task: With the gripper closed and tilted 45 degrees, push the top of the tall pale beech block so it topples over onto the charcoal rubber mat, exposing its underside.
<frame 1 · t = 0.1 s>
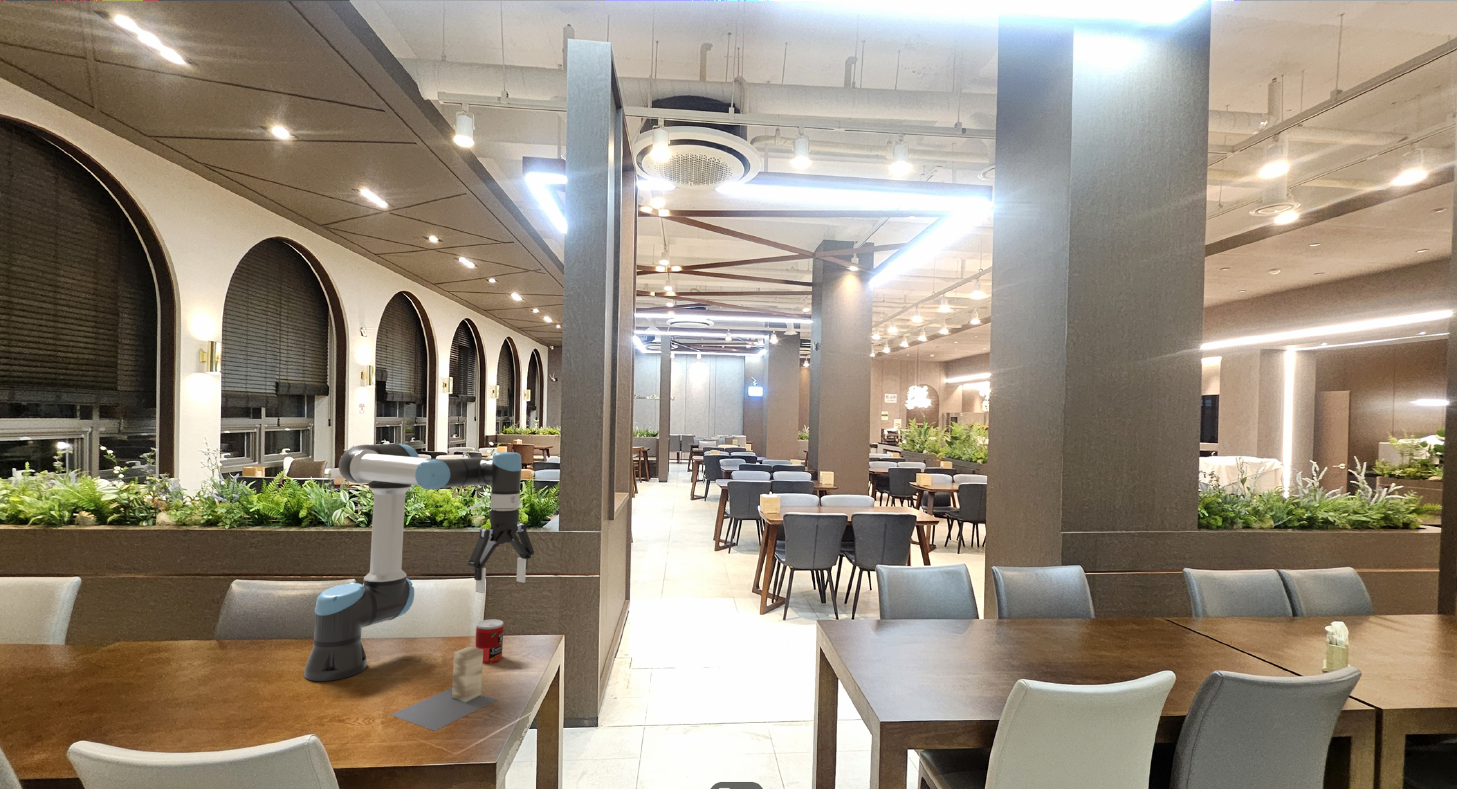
hand: (501, 586, 170), 28 cm above the table, tool pointing down, fingers open, 13 cm apart
canned food: (488, 660, 190), on the table
mat: (445, 708, 157), on the table
beech block: (466, 697, 163), resting on mat
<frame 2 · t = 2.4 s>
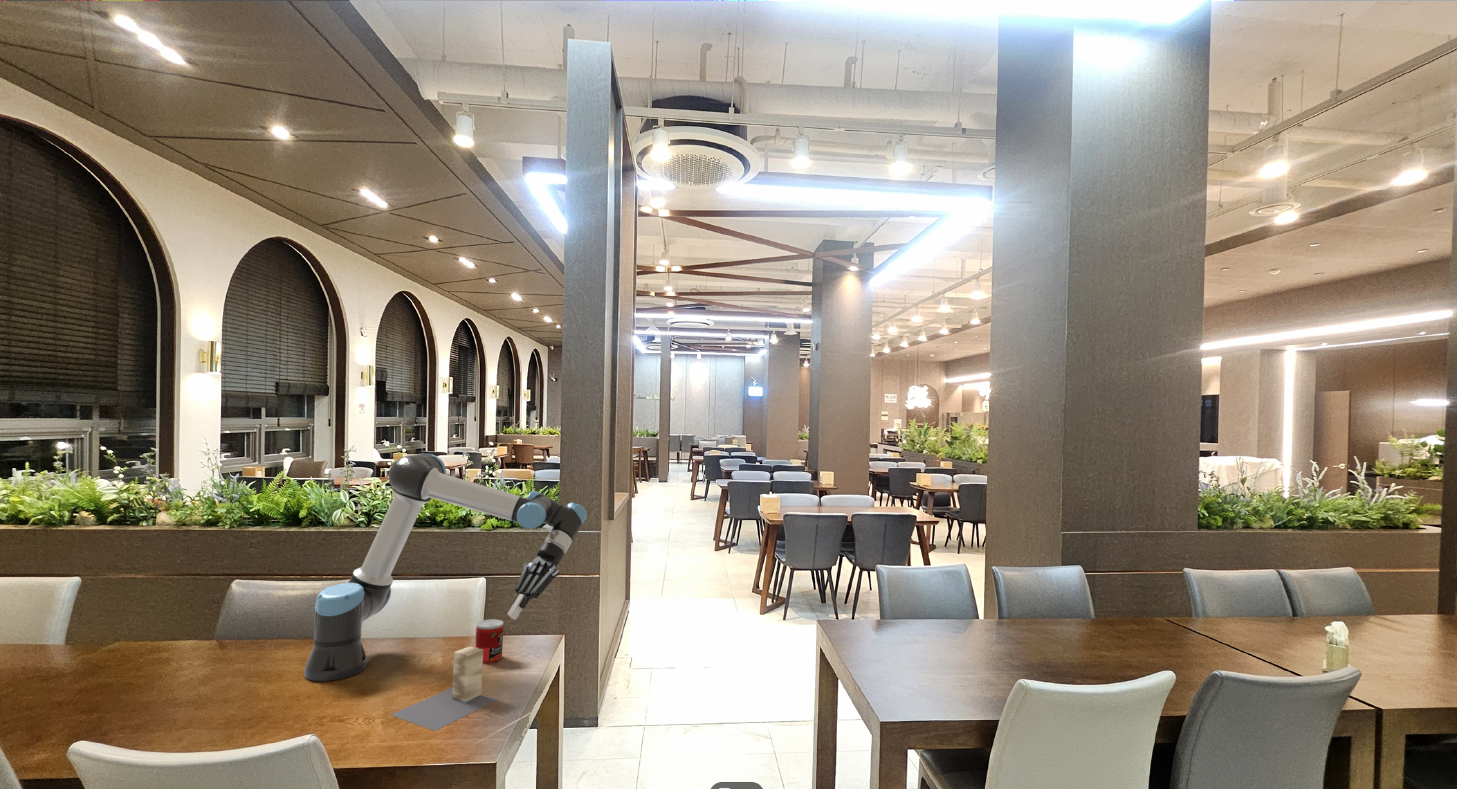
hand: (511, 616, 177), 17 cm above the table, tool tilted 45°, fingers closed
nothing on the table moved.
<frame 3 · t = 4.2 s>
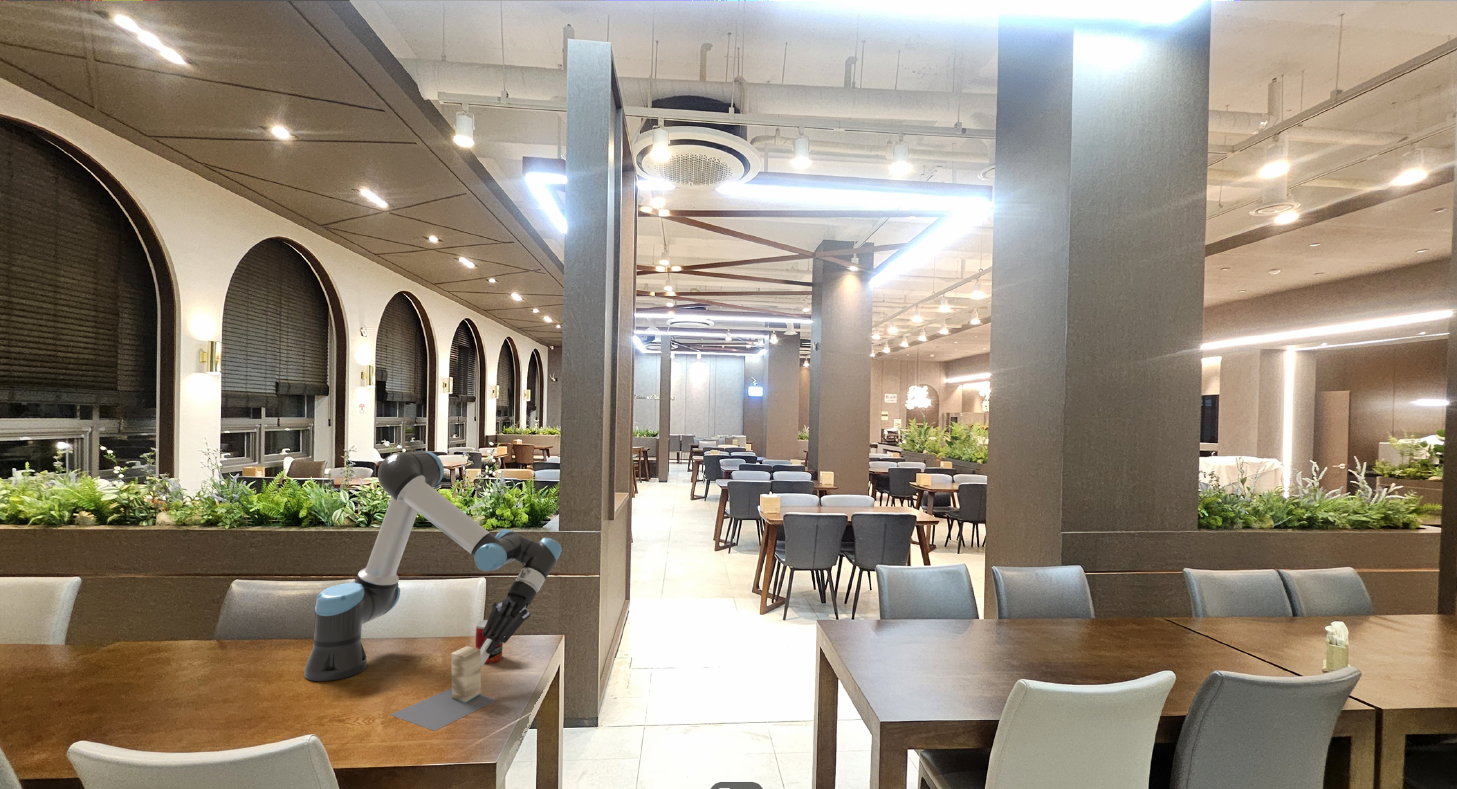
hand: (477, 663, 166), 8 cm above the table, tool tilted 45°, fingers closed
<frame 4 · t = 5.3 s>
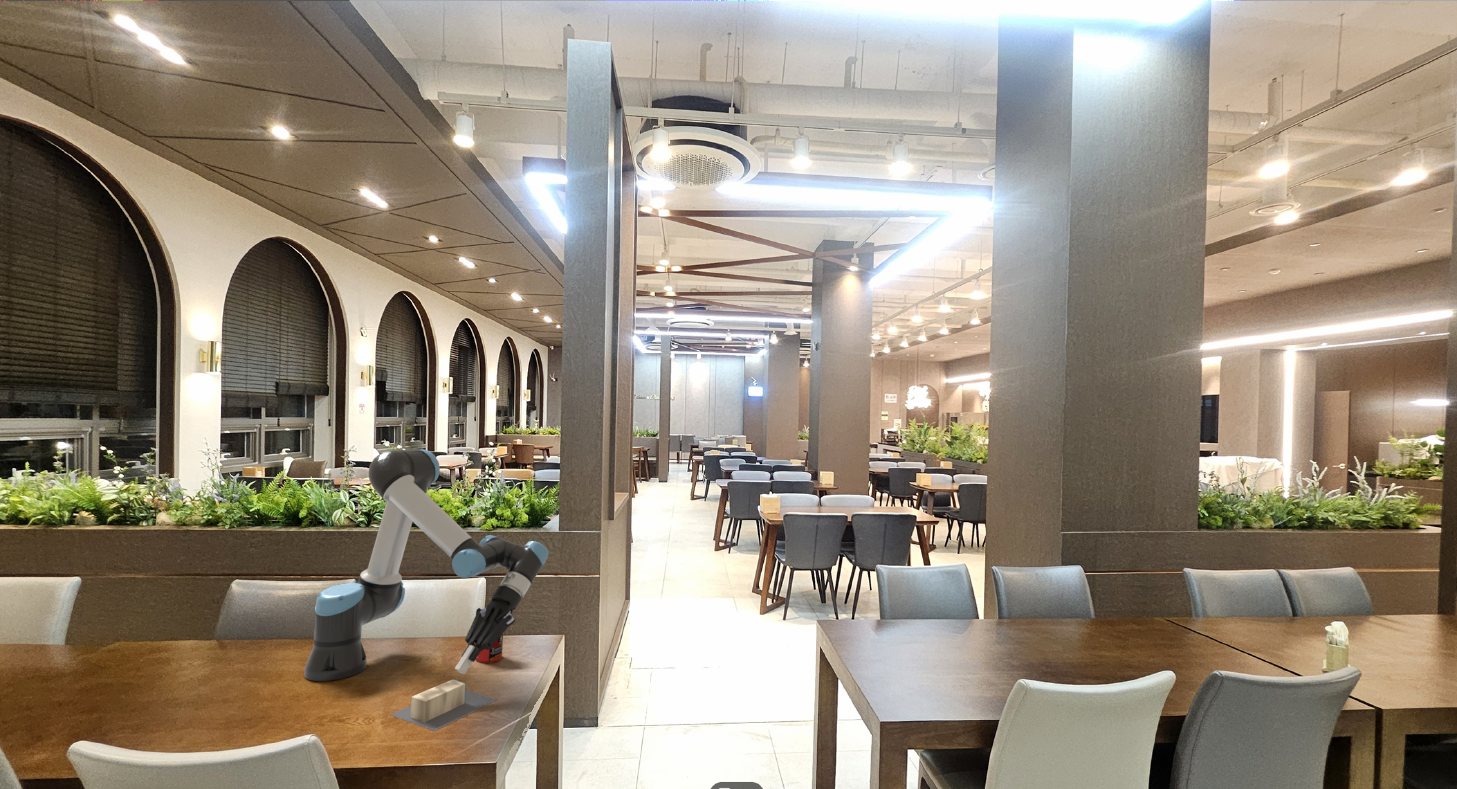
hand: (459, 671, 161), 8 cm above the table, tool tilted 45°, fingers closed
beech block: (459, 690, 161), point 3 cm above the table, tilted 90°, touching mat
everything else where it was.
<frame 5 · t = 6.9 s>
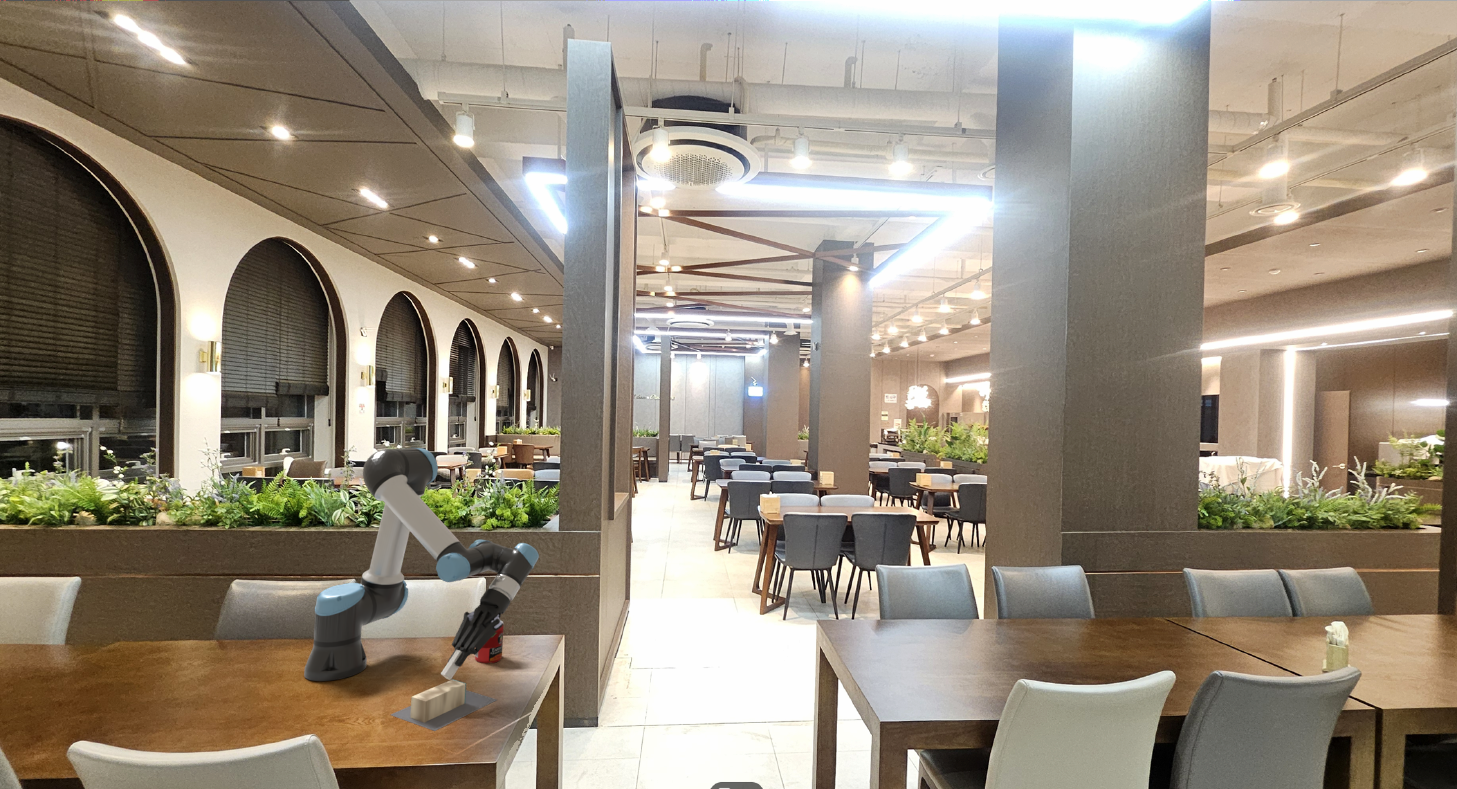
hand: (445, 676, 157), 8 cm above the table, tool tilted 45°, fingers closed
nothing on the table moved.
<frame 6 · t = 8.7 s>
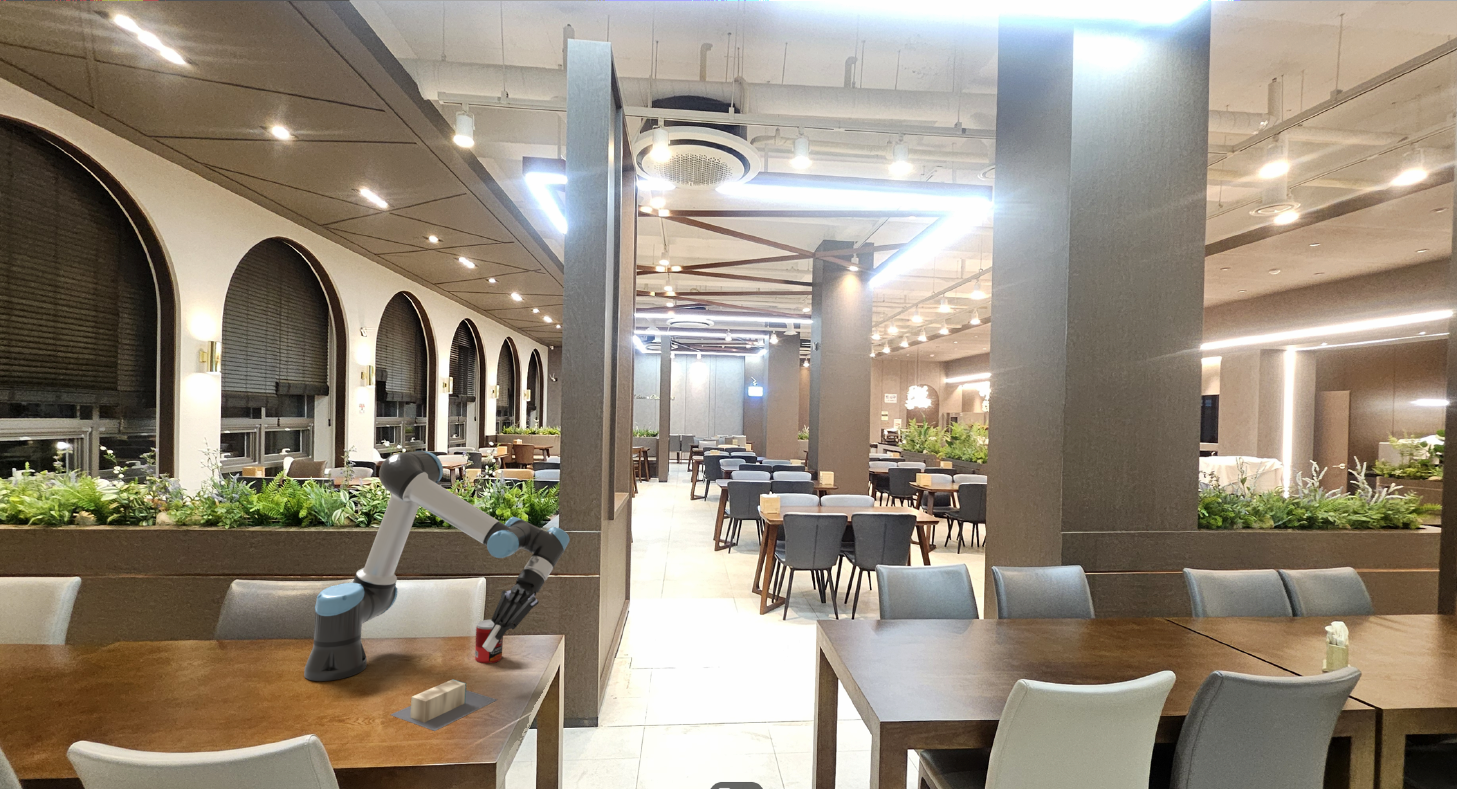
hand: (486, 649, 169), 11 cm above the table, tool tilted 45°, fingers closed
nothing on the table moved.
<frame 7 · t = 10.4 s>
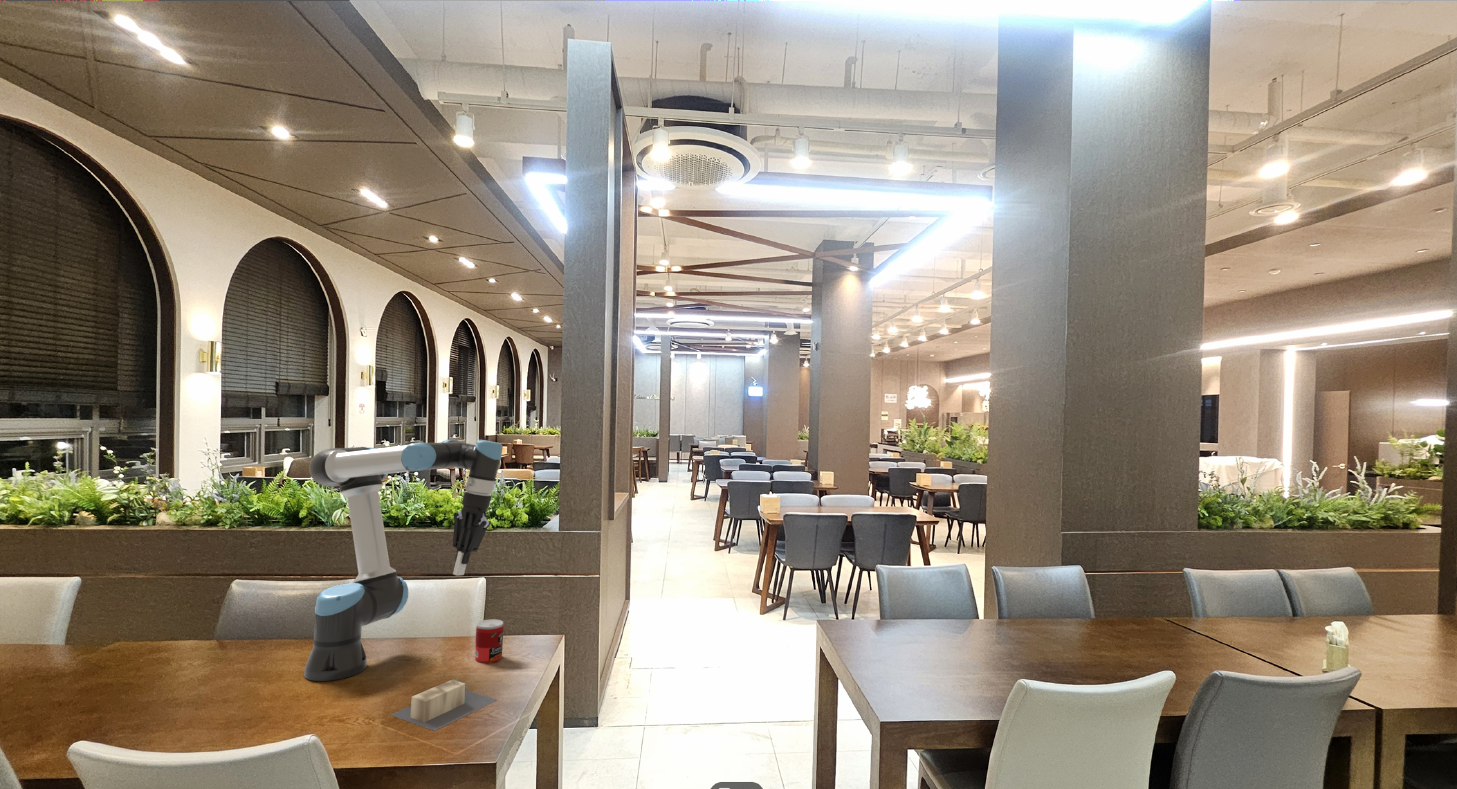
hand: (458, 574, 179), 29 cm above the table, tool pointing down, fingers closed
nothing on the table moved.
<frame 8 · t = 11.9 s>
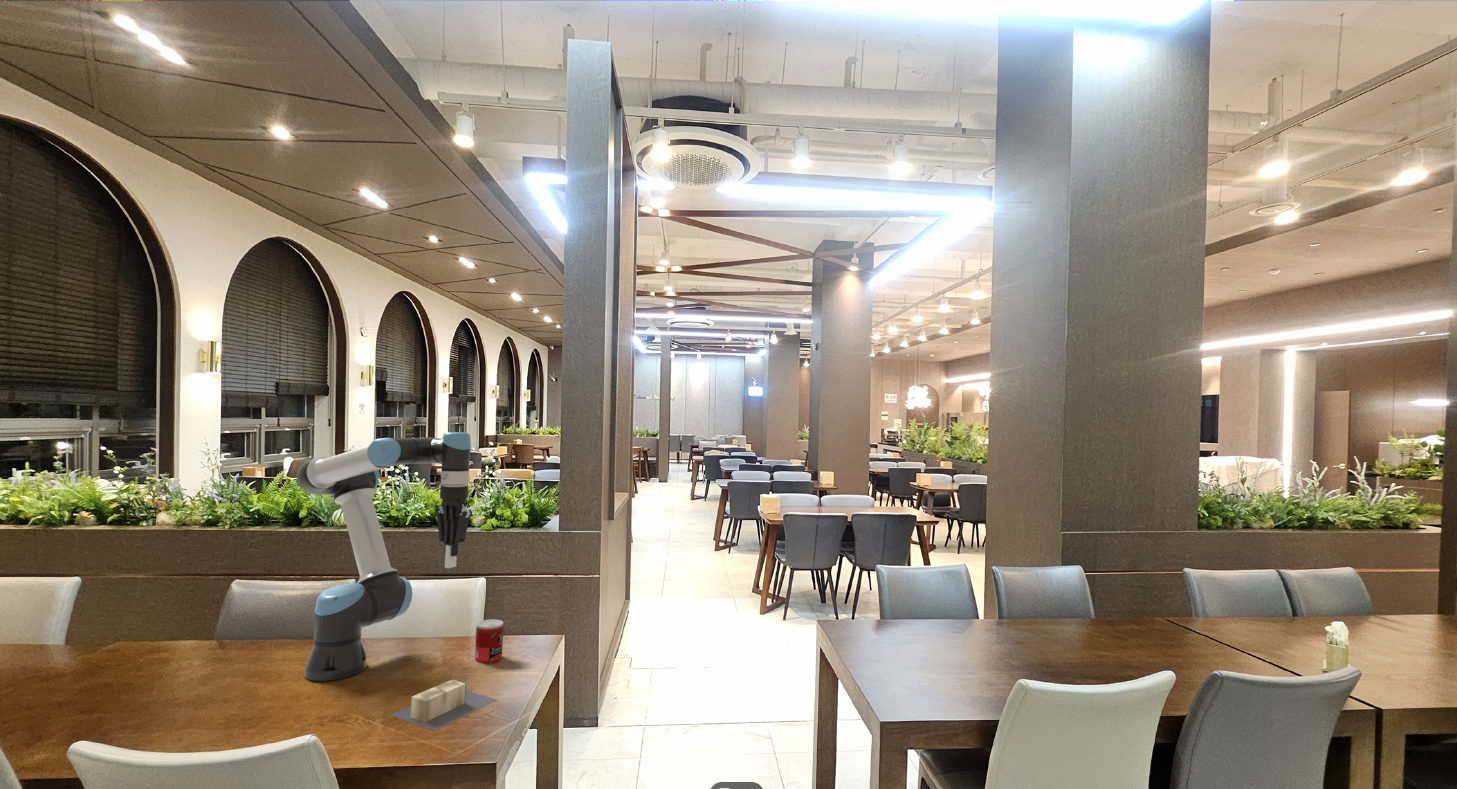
hand: (450, 566, 180), 30 cm above the table, tool pointing down, fingers closed
nothing on the table moved.
at the end: beech block tilted 90°; beech block inside the target area (4.5 cm from its centre), point 2.9 cm above the table; the gripper is holding nothing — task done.
